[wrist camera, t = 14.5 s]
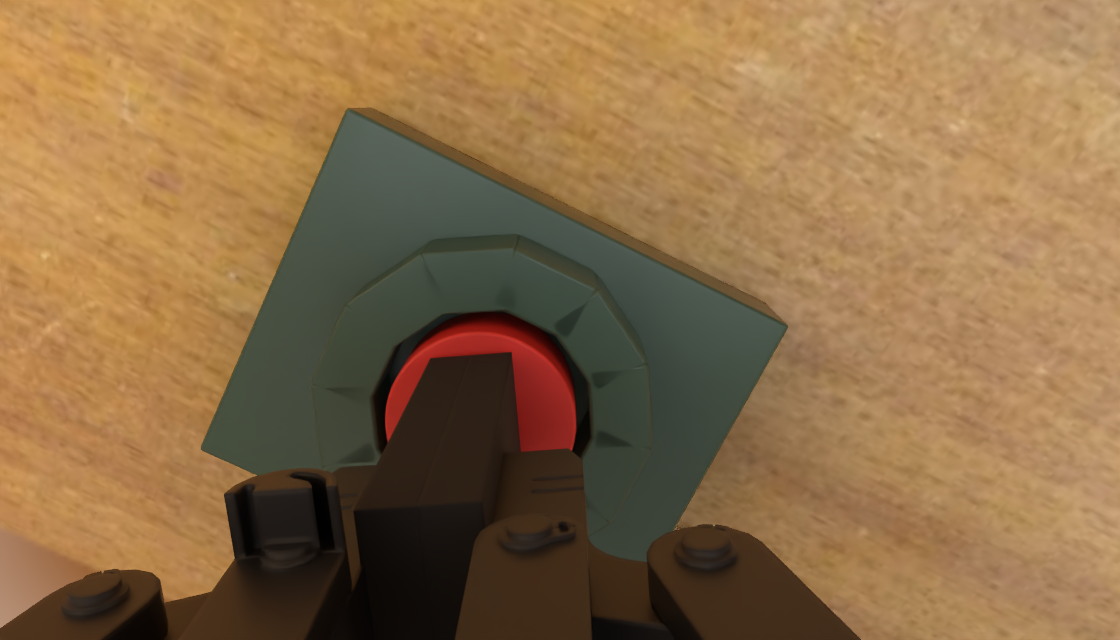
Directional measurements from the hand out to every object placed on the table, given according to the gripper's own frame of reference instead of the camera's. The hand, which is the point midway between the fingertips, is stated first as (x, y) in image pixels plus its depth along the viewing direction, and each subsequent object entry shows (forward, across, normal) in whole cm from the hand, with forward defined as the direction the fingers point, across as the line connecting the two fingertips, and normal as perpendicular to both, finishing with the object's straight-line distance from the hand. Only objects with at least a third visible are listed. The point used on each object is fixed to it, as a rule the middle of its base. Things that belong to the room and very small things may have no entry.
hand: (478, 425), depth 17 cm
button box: (+5, 0, 0) cm, 5 cm away
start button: (+2, 0, 0) cm, 2 cm away
